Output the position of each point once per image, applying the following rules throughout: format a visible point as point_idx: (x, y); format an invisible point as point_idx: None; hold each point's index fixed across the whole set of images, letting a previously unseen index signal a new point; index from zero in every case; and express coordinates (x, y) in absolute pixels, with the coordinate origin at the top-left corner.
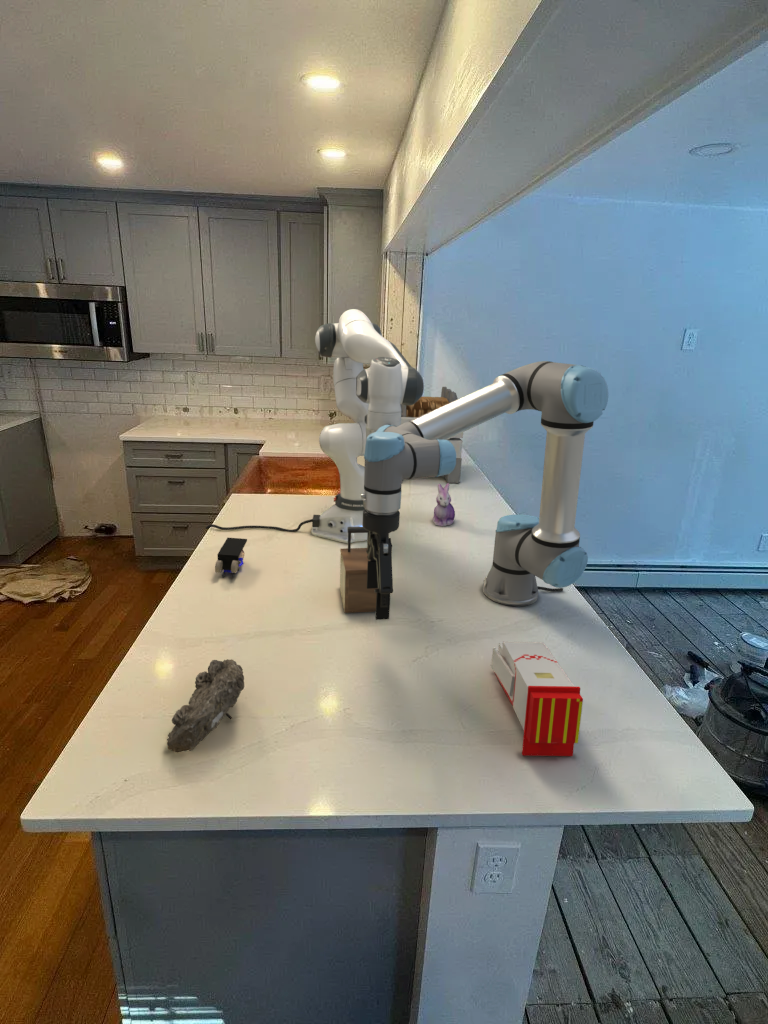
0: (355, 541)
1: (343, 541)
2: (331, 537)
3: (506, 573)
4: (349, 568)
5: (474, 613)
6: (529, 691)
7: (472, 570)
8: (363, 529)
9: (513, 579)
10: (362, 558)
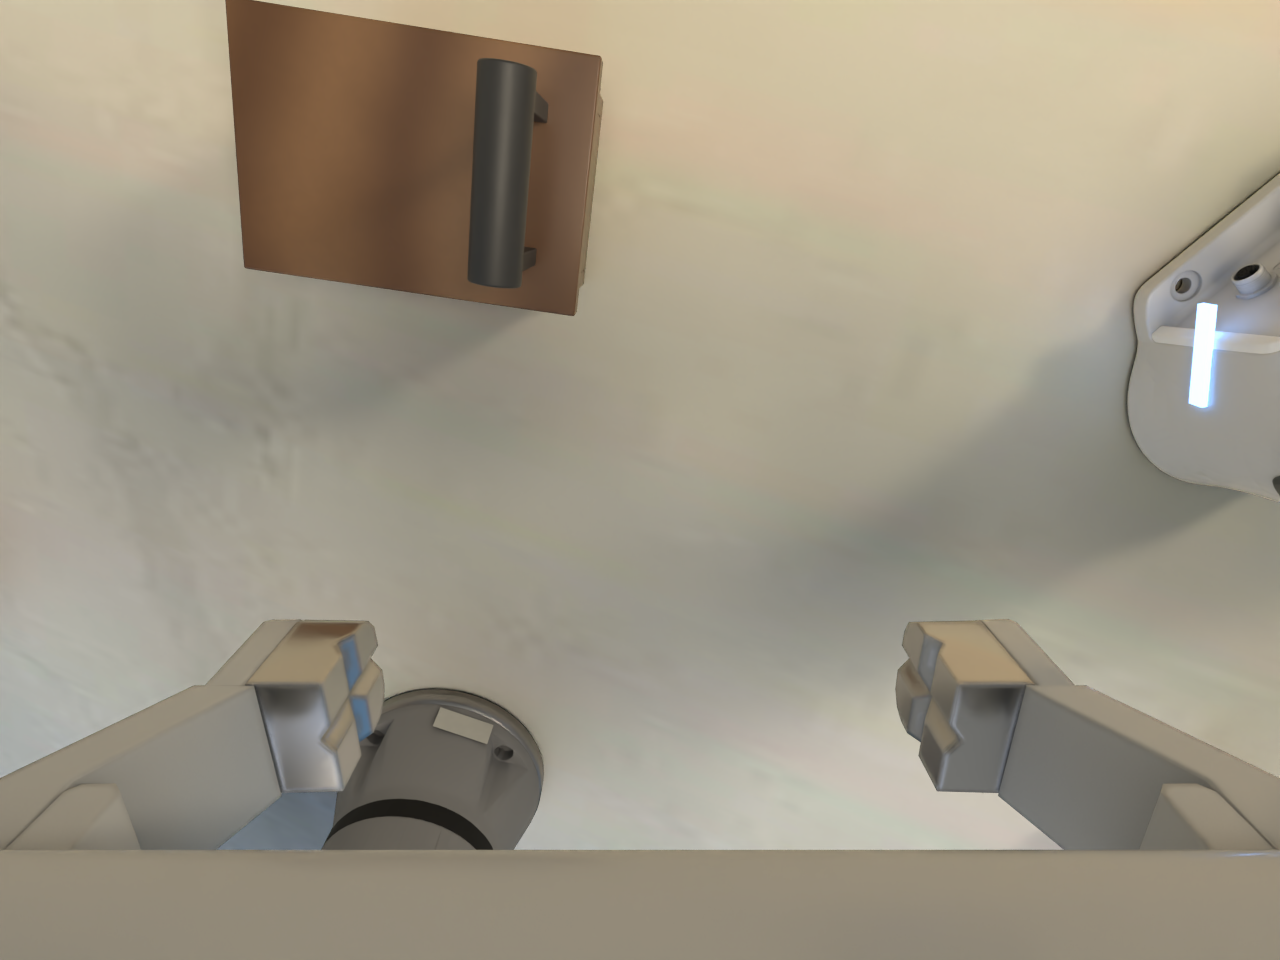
0: (1138, 343)
1: (1165, 272)
2: (1248, 208)
3: (345, 813)
4: (255, 35)
5: (317, 601)
6: None
7: (654, 729)
8: (471, 210)
9: (337, 814)
10: (411, 178)
